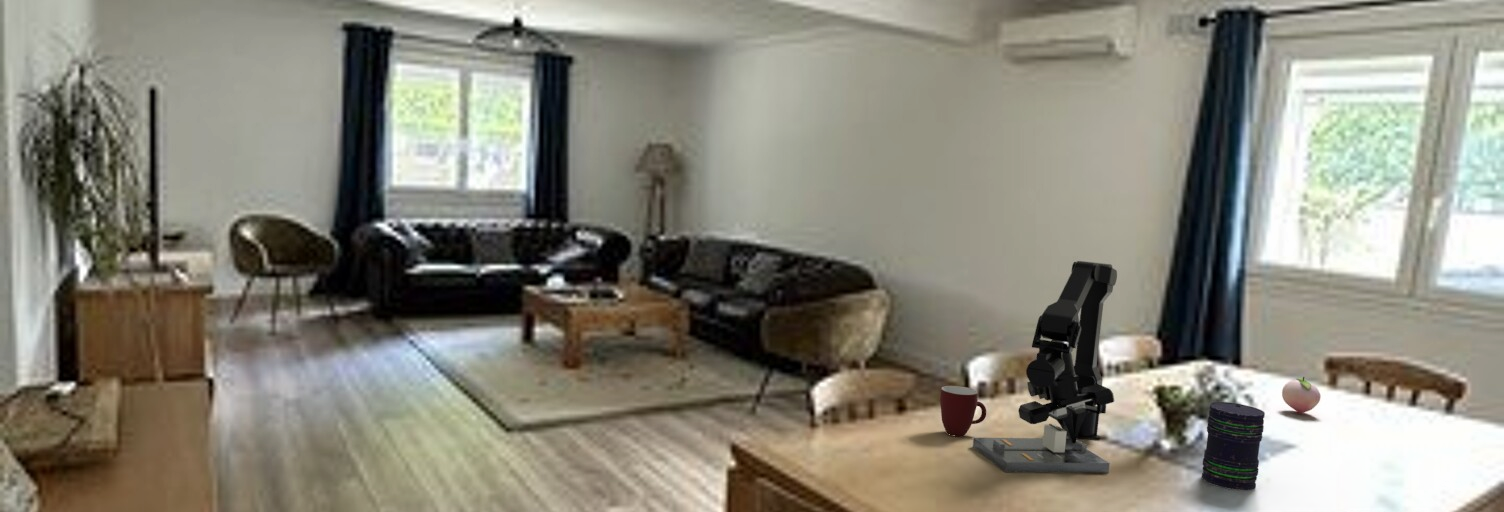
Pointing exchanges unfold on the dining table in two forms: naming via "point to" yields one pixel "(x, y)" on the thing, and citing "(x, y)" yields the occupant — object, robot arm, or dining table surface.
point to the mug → (959, 409)
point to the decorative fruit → (1300, 395)
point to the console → (1039, 456)
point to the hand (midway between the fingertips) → (1072, 442)
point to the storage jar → (1233, 446)
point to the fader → (1054, 438)
